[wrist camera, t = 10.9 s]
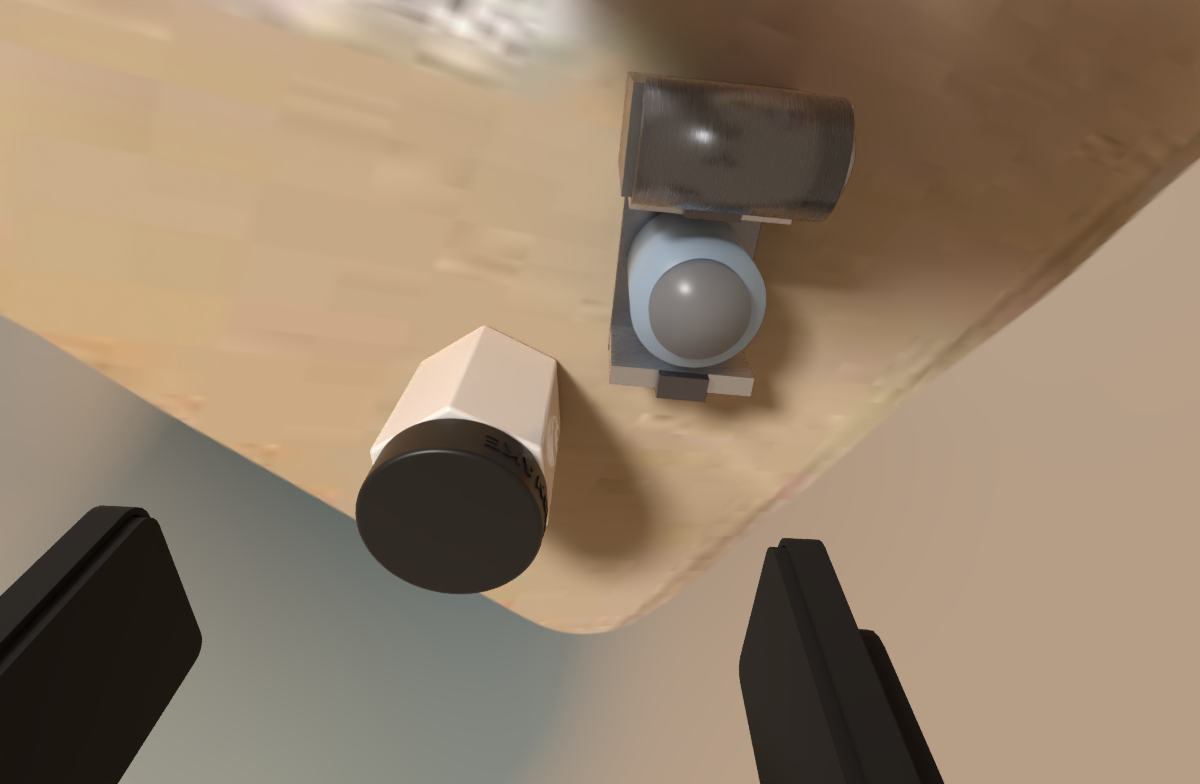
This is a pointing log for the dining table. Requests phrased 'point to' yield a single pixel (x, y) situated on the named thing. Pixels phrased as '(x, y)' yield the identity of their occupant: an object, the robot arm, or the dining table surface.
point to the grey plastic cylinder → (693, 290)
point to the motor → (719, 190)
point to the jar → (465, 467)
